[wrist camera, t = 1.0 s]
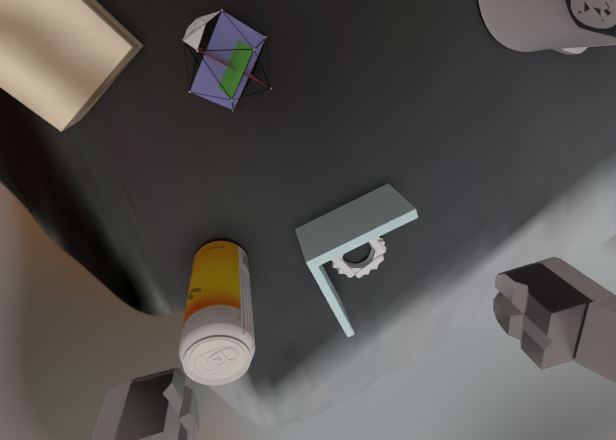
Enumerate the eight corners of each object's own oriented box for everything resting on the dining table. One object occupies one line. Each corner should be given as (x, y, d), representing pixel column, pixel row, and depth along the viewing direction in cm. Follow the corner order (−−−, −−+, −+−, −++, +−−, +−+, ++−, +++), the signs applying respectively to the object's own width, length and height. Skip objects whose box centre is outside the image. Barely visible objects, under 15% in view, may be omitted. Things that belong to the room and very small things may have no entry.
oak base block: (41, -52, 27) (9, -67, 23) (144, 45, 31) (132, 47, 27) (-25, 38, 29) (-65, 39, 25) (81, 120, 33) (61, 131, 29)
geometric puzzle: (300, 57, 32) (254, 24, 24) (266, 127, 34) (214, 117, 27) (239, 22, 34) (178, -18, 26) (210, 91, 36) (147, 72, 28)
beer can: (183, 253, 41) (160, 357, 28) (230, 228, 40) (230, 321, 27) (212, 289, 44) (205, 399, 31) (257, 266, 43) (269, 366, 30)
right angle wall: (331, 296, 48) (347, 337, 42) (294, 227, 42) (306, 262, 36) (413, 256, 48) (442, 292, 41) (386, 181, 42) (415, 209, 36)
